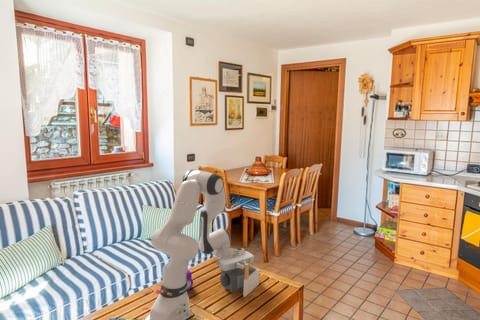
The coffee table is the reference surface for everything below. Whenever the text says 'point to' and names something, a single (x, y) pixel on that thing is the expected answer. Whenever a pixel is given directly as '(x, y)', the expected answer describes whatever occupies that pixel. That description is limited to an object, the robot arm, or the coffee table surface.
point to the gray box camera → (234, 278)
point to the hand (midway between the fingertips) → (245, 267)
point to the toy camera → (189, 280)
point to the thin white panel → (250, 280)
